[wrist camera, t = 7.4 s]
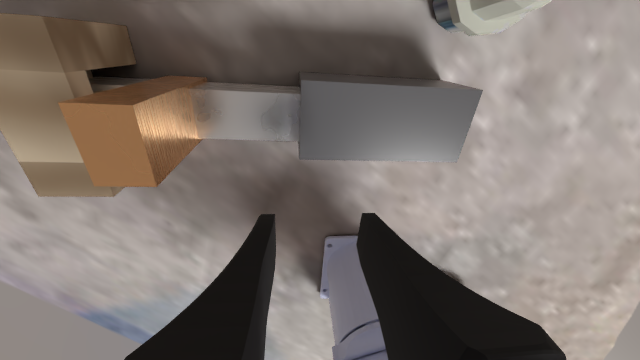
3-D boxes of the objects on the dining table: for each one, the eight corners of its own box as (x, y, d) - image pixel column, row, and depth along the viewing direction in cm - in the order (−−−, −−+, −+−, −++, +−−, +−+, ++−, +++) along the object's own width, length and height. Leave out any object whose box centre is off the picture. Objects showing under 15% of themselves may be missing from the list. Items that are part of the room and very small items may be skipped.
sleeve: (424, 139, 21) (457, 162, 17) (298, 135, 20) (299, 159, 16) (441, 80, 19) (483, 90, 15) (299, 71, 18) (301, 80, 14)
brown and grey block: (335, 131, 20) (363, 187, 12) (118, 124, 18) (-18, 185, 10) (340, 84, 18) (375, 115, 10) (100, 72, 16) (-79, 97, 8)
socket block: (161, 156, 20) (114, 196, 15) (107, 155, 19) (38, 196, 14) (126, 25, 16) (41, 16, 10) (55, 20, 15) (-70, 7, 10)
